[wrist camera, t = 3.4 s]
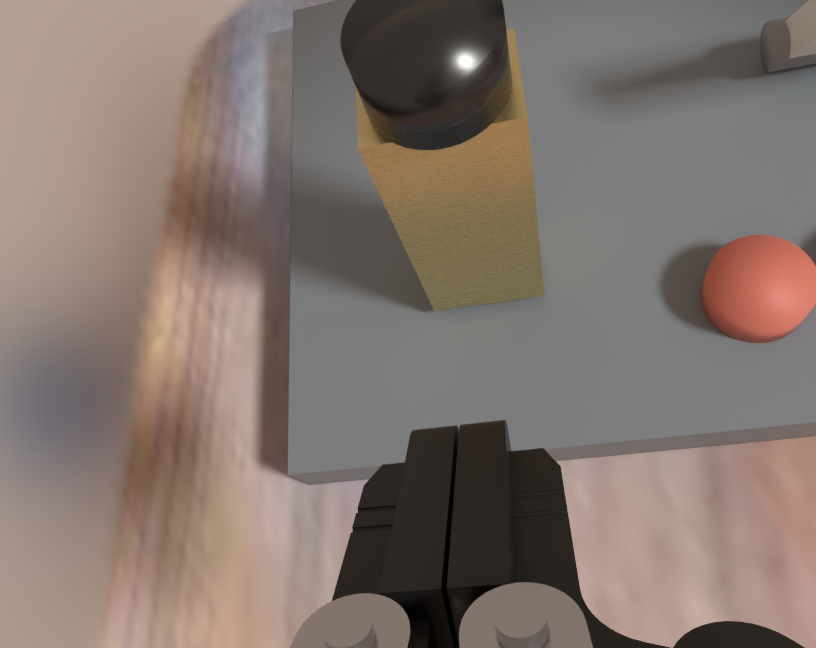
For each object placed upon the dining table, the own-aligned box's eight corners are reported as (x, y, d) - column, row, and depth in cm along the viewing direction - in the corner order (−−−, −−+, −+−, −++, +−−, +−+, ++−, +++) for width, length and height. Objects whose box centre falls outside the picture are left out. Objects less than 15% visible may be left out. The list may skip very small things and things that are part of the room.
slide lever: (533, 220, 23) (504, -57, 14) (546, 307, 22) (524, 70, 12) (428, 237, 24) (330, -17, 14) (435, 322, 23) (331, 109, 13)
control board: (882, -79, 28) (918, -159, 25) (1105, 407, 20) (1195, 373, 17) (309, 44, 32) (282, -12, 29) (309, 484, 24) (273, 468, 21)
